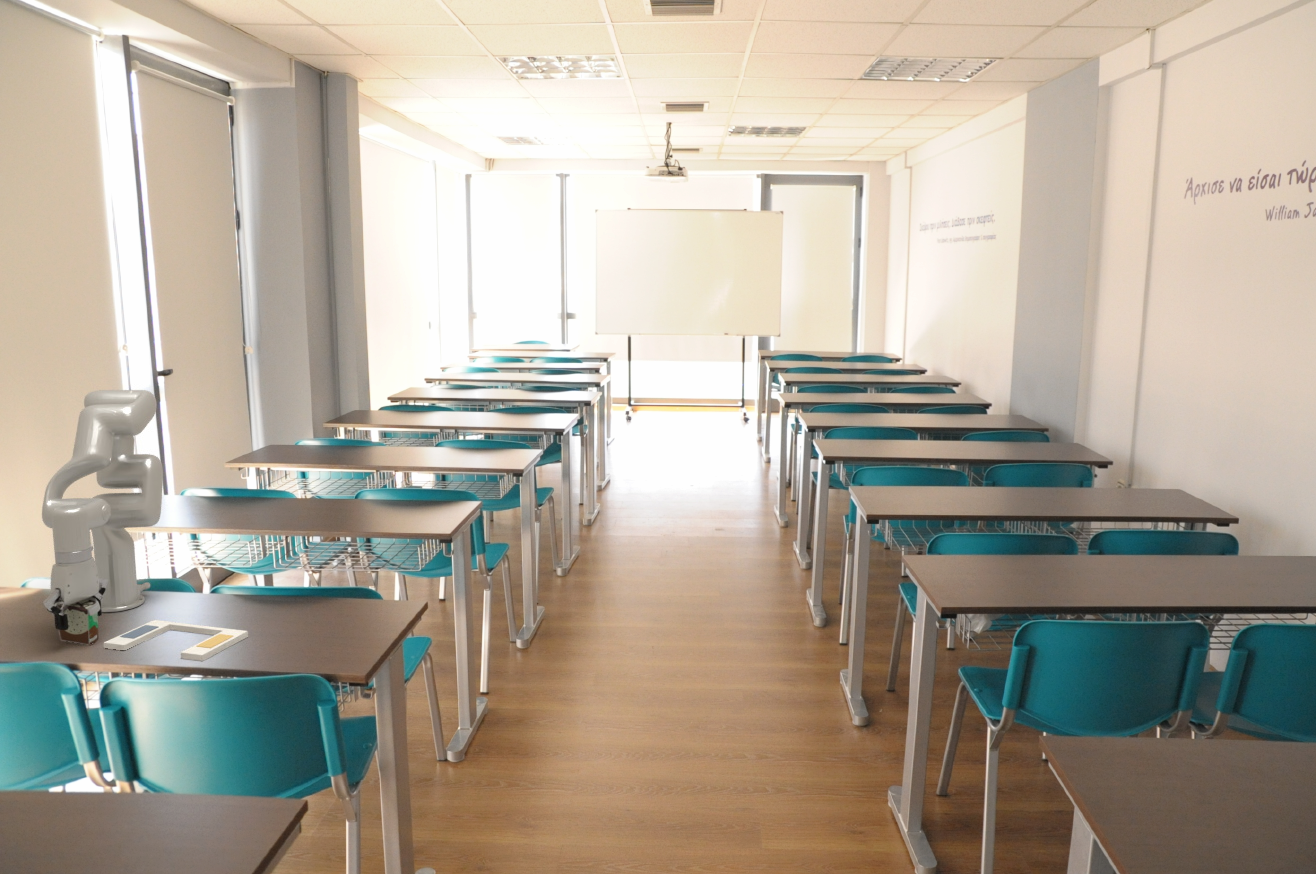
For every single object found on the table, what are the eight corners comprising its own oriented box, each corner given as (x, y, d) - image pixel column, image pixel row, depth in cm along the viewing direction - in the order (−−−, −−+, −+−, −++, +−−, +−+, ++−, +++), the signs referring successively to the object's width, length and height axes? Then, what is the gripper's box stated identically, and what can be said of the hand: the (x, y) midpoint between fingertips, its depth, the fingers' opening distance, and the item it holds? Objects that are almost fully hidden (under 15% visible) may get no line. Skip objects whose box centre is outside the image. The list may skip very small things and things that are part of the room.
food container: (116, 636, 221) (111, 599, 219) (94, 646, 215) (89, 608, 213) (78, 630, 224) (73, 593, 222) (56, 639, 219) (50, 602, 217)
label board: (154, 625, 229) (154, 619, 229) (248, 636, 223) (247, 630, 223) (103, 648, 214) (103, 641, 214) (202, 661, 208) (202, 654, 208)
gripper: (90, 545, 224) (95, 608, 226) (28, 564, 207) (35, 633, 210) (115, 547, 222) (120, 611, 225) (54, 567, 205) (61, 636, 208)
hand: (79, 622), depth 217 cm, fingers open, 9 cm apart
